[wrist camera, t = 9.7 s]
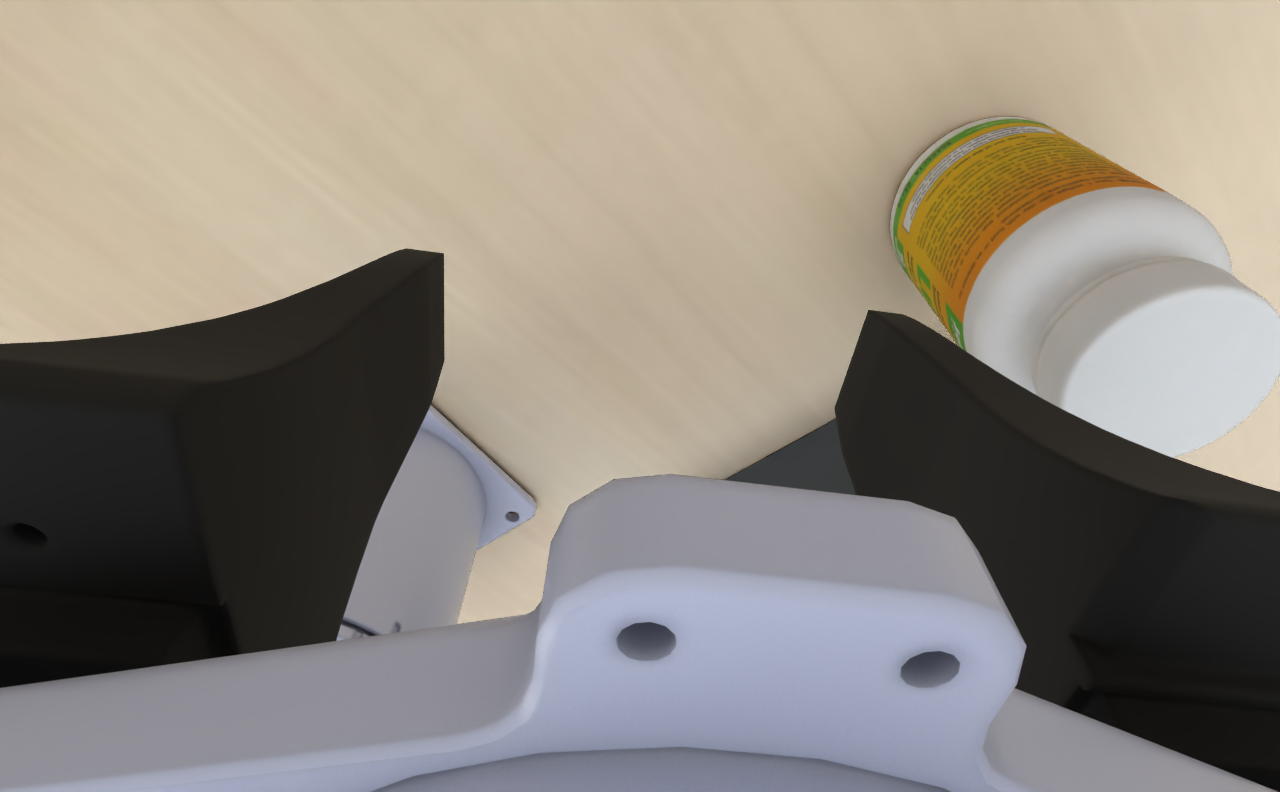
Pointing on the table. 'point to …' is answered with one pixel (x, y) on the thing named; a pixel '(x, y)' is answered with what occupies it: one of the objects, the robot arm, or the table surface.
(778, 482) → the tray
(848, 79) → the table surface
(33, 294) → the table surface
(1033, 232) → the supplement bottle
